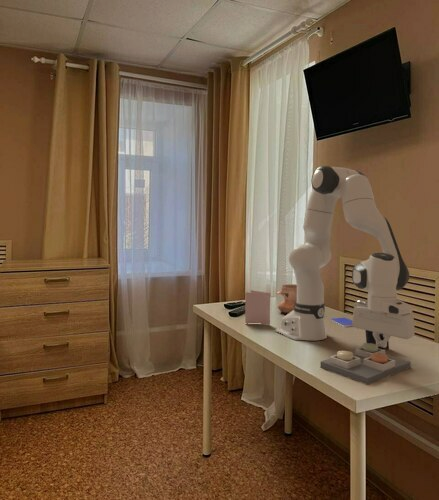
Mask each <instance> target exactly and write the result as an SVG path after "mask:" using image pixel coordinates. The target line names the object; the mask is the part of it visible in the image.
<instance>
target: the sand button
mask: <svg viewBox="0 0 439 500" xmlns="http://www.w3.org/2000/svg"><path fill="white" fill-rule="evenodd" d="M352 352H353V351H349V350H339V351H337V352H336V353H337V354H336V355H337V359H340V360H343V361H346V362H348V361H351V360H353V353H352Z"/></svg>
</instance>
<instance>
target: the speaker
mask: <svg viewBox="0 0 439 500" xmlns="http://www.w3.org/2000/svg"><path fill="white" fill-rule="evenodd" d="M379 337H380V339H381V340H384V338H385V337H383V334H381V333H380V334H379ZM365 342H366V343H372V344H376V340H375V338H374V336H373V332H372V331H368V330H365ZM389 343H390V342H389V341H388V342H387V347H385V348H384V349H387V350H389V349H390V346H389ZM378 348H379V349H382V348H383V347H380V346H378Z"/></svg>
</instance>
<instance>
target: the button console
mask: <svg viewBox="0 0 439 500" xmlns="http://www.w3.org/2000/svg"><path fill="white" fill-rule="evenodd" d="M351 352H352V353H353V360H351V361H348V362H346V361H343V360H340V359H337V354H334V355H331V356H329V358H328V359H324V360H321V361H320V364H319V365H320V367H319V368H321V369H324V370H327V371H330V372H332V373H335V374H337V375H339V376H340V375H341V376H343V377H345V378H349V379H351V380H354V381H357V382H359V383H361V384H365V385H367V386H368V385H370V384H373V383H375V382H377V381H381V380H383V379H385V378H388V377H390V376H393V375H396V374H398V373H400V372H403V371H405V370H409V369H411V366H412V365H411V363H412V362H411V361H409V360H407V359H402V358H399V357H396V356H392V355H388V354H386V350H385V349H382V348H381V349H379V348H378V352H375V353H382V354H386V355H387V356H388V362H387V363H384V364H380V363H376V362H373V361H371V354H372V353H370V352H367V351H363V346H360V347H358V348H355V350H354V351H351Z"/></svg>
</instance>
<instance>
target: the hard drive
mask: <svg viewBox="0 0 439 500" xmlns="http://www.w3.org/2000/svg"><path fill="white" fill-rule="evenodd" d="M331 320H332V321H331ZM352 320H353V319H350V318H346V317H335V318H334V317H333V318H330V321H331V322H333V321H334V322H333V323H335V322H336V323H335V324H337V323H338V325H339V324H340V325H339V326H341V325H342V327H344V328H350V327H354V326H353V324H352Z"/></svg>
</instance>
